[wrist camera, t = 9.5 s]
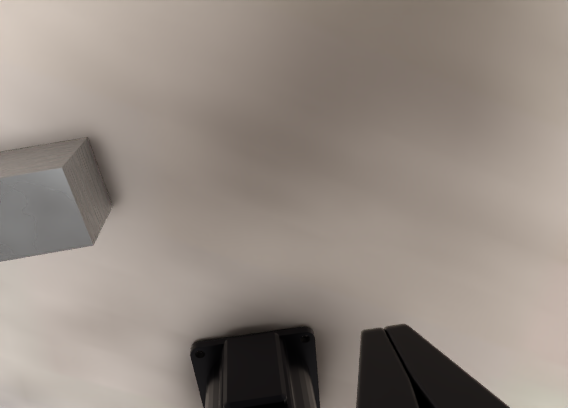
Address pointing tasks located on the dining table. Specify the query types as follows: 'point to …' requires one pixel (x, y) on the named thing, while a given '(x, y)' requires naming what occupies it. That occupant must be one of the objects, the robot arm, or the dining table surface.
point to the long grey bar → (50, 199)
